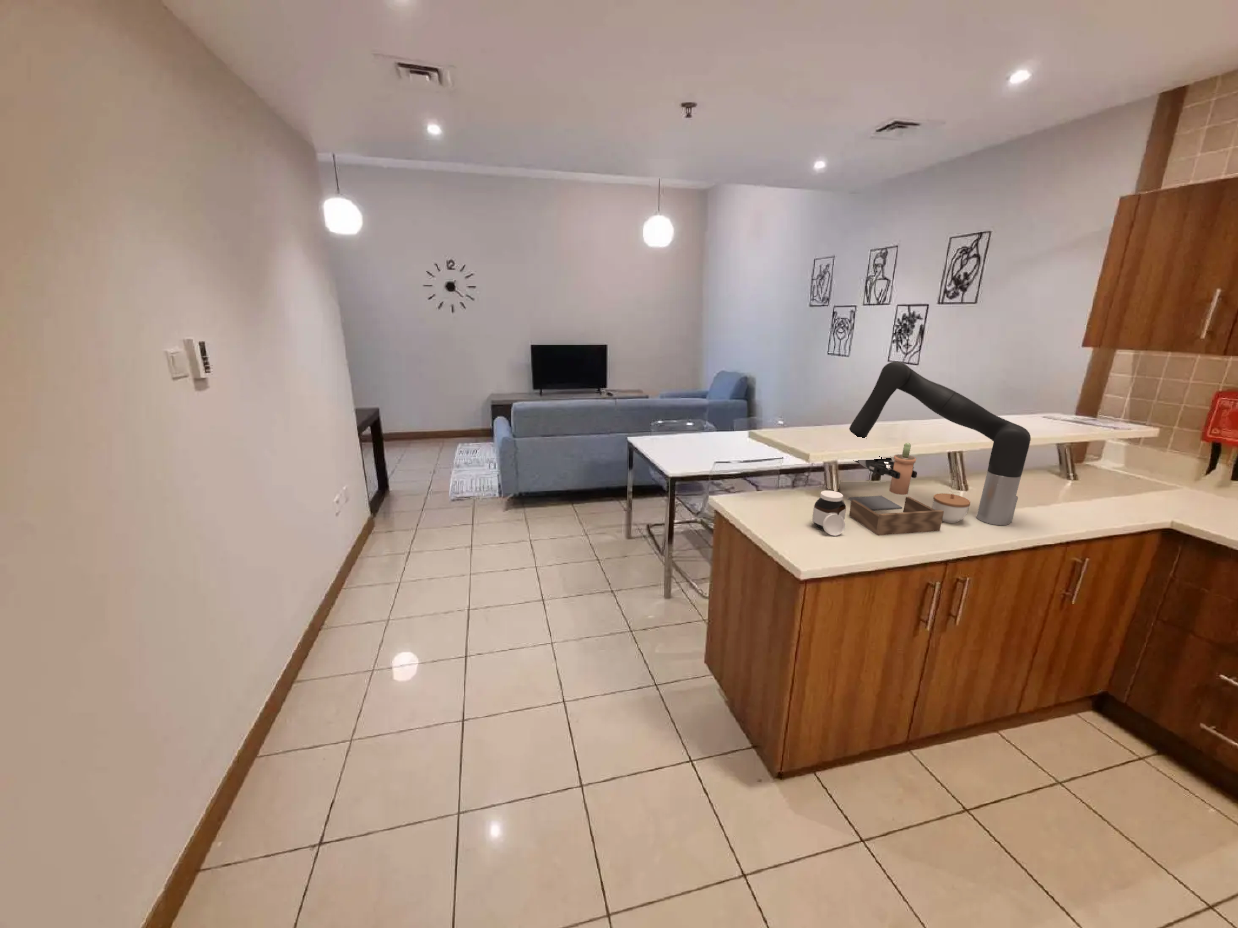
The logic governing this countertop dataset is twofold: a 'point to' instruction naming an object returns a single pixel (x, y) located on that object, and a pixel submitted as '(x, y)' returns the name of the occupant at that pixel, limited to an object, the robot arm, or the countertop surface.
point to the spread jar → (830, 512)
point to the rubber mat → (876, 502)
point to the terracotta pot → (902, 471)
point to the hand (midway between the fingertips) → (907, 475)
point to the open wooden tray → (898, 518)
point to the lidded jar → (951, 506)
